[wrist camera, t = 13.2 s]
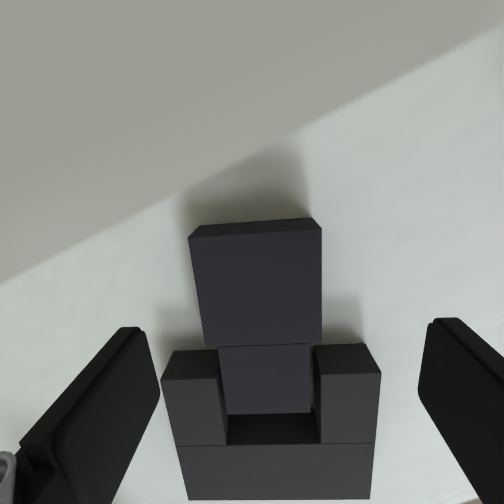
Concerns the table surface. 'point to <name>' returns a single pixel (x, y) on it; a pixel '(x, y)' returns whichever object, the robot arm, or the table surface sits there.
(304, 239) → the pad
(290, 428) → the socket pad
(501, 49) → the table surface
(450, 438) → the robot arm
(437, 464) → the table surface
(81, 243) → the table surface
